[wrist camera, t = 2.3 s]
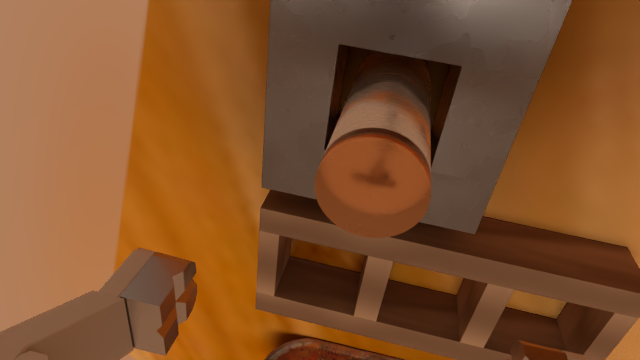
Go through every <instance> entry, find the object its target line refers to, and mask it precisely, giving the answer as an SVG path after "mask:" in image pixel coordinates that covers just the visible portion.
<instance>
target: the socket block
mask: <svg viewBox="0 0 640 360" xmlns="http://www.w3.org/2000/svg"><path fill="white" fill-rule="evenodd" d="M571 2H572V0H271V4H270V24H269V45H268V65H267V86H266V106H265V127H264V147H263V168H262V188H267V189H271V190H276V191H280V192H285V193H289V194H294V195H298V196H303V197H308V198H312V199H316V195H315V187H314V186H315V177H316V173H317V171H318V168H319V166H320V163H321V161H322V159H323V156H324V154H325V151H326V149H327V146H328V144H329V141H330V139H331V137H332V134H333V132H334V129H335V127H336V124H337V122H338V120H339V118H337V117H338V110H339V104H340V97H341V90H342V84H343V77H344V71H345V64H346V57H347V51H348V46H353V47H358V48H364V49H369V50H375V51H380V52H386V53H392V54H397V55H403V56H408V57H414V58H419V59H425V60H431V61H436V62H442V63H447V64H451V65H450V69H449V72H448V75H447V79H446V82H445V86H444V89H443V93H442V96H441V99H440V103H439V106H438V110H437V113H436V117H435V120H434V124H433V127H432V130H431V199H430V203H429V207H428V209H427V211H426V213H425V215H424V216H423V218H422V219H421V220H420V221H419V222H421V223H426V224H430V225H435V226H439V227H444V228H449V229H453V230H458V231H462V232H467V233H471V234H475V233H476V231H477V228H478V226H479V223H480V221H481V218H482V216H483V214H484V211H485V209H486V206H487V204H488V202H489V199H490V197H491V194H492V192H493V190H494V187H495V185H496V182H497V180H498V178H499V175H500V173H501V170H502V168H503V166H504V163H505V161H506V158H507V156H508V154H509V151H510V149H511V146H512V144H513V142H514V139H515V137H516V134H517V132H518V130H519V127H520V125H521V122H522V120H523V118H524V115H525V113H526V110H527V108H528V106H529V103H530V101H531V98H532V96H533V94H534V91H535V89H536V86H537V84H538V81H539V79H540V77H541V74H542V72H543V69H544V67H545V65H546V62H547V60H548V57H549V55H550V53H551V50H552V48H553V45H554V43H555V41H556V38H557V36H558V33H559V31H560V29H561V26H562V24H563V21H564V19H565V17H566V14H567V12H568V9H569V7H570V5H571Z"/></svg>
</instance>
